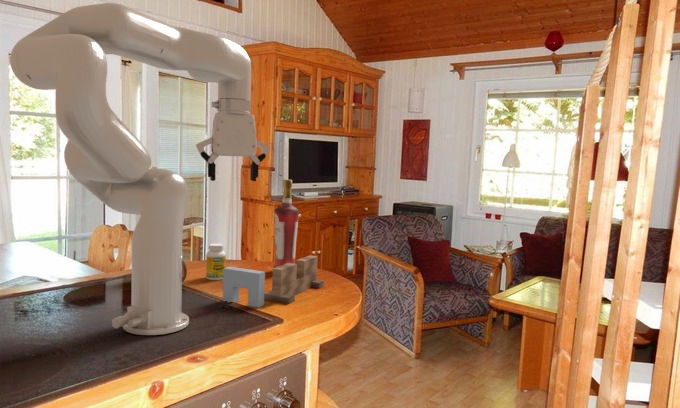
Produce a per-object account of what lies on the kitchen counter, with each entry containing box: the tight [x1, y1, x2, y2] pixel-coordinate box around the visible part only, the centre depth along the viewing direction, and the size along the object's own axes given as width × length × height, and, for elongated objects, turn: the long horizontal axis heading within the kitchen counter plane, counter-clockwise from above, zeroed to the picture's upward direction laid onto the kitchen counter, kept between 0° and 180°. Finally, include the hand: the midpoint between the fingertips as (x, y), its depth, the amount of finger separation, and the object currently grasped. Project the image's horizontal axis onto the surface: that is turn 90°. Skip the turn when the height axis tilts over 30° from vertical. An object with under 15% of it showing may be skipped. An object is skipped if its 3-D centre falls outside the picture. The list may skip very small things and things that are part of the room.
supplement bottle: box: [205, 242, 227, 281], centre depth 143 cm, size 5×5×10 cm
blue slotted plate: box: [222, 266, 266, 308], centre depth 120 cm, size 10×2×8 cm, turn 67°
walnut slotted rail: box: [264, 254, 325, 305], centre depth 132 cm, size 20×7×8 cm, turn 157°
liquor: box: [273, 178, 300, 268], centre depth 154 cm, size 7×7×28 cm
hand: (233, 180), depth 122 cm, fingers open, 9 cm apart
